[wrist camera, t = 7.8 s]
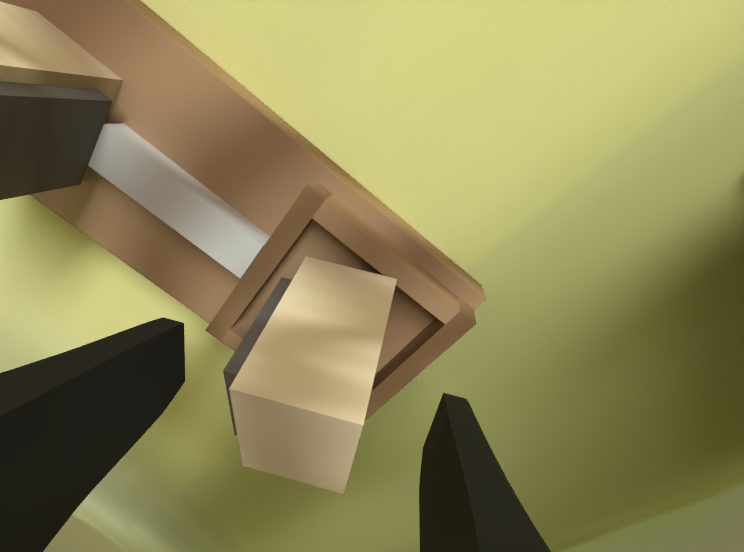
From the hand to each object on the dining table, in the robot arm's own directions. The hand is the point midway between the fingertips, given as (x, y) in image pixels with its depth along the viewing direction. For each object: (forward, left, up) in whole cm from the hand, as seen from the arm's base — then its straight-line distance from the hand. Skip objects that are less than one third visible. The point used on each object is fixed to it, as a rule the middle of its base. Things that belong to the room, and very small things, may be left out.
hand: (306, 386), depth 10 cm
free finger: (0, 0, -4) cm, 4 cm away
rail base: (+6, 0, -5) cm, 8 cm away
